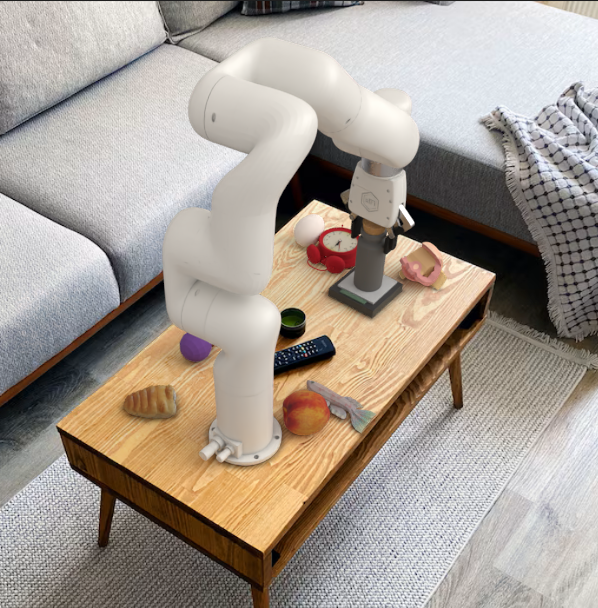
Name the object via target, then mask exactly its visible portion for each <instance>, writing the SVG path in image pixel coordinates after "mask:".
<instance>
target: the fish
mask: <svg viewBox="0 0 598 608" xmlns="http://www.w3.org/2000/svg"><path fill="white" fill-rule="evenodd" d="M305 385H306V388H307V390H308V391H313V392H316V393H318V394H320V395H321V396H322V397H323V398H324V399H325V401H326V402H327V407H328V408H329V410H330V413H331V414H333V415H335V416H336V417H338V418H340V419H341V420H345V419H346V418H347V412H348V413H349V416H350V420H351V424H352V426H353V428H354V429H355V431H357V432H359V433H360V434H362V433H363V430H364V429H365V428H366V427H367V426H368V425H369V423H370V422H371V421H372V419H373V418H374V417H375V416H376V415H377V413H376V412H373V411H371V410H367V409H363V408H364V406H363V405H362V403H361V402H359V401H358V400H357V399H354V398H353V397H351V396H342V395H341V394H339V393H337V392H335V391H334V390H332V389H330V388H329V387H327V386H325V385H324V384H322V383H320V382H317V381H314V380H311V379H308V380H306V384H305Z"/></svg>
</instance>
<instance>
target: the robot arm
mask: <svg viewBox="0 0 598 608" xmlns="http://www.w3.org/2000/svg"><path fill="white" fill-rule="evenodd" d="M412 109H413V101H412V98H411V96H410V94H408V93H407V92H405V91H404V90H402V89H400V88H396V87H395V88H394V87H383V88H378V89H376V90H374V91H372V90H371V89H369V88H367V87H365V86H363V85H361V84H360V83H358V82H357V80H356V79H354V78H353V77H352V76H351V74H349V73H348V72H347V70H346V69H345V68H344V66H342V65H341V64H340V63H339V61H337V59H335V58H334V57H333V56H332V55H330V54H329V53H327V52H325V51H323V50H320V49H317V48H314V47H311V46H307V45H304V44H299V43H296V42H293V41H289V40H286V39H282V38H278V37H274V36H263V37H260V38H259V37H258V38H256V39H254V40H251V41H250V42H248V43H246V44H244V45H243V46H242V47H240V48H238V49H237V50H235V51H234V52H232V53H231V54H230V55H229V56H227V57H226V58H225V59H223V60H222V61H220V62H219V63H217V64H216V65H214V66H213V67H212V68H211V69H209V70H208V71H207V72H206V73H205V74H203V75H202V77H201V78H200V79H199V80H198V81H197V82H196V84H195V86H194V87H193V90H192V91H191V94H190V97H189V100H188V105H187V116H188V121H189V123H190V126H191V128H192V130H193V131H194V132H195V133H196V134H197V135H198V136H199V137H201V138H202V139H203V140H206V141H207V142H211V143H213V144H216V145H219V146H222V147H224V148H228V149H231V150H234V151H236V152H239V153H242V154H246V156H245V157H244V158H243V160H241V161H240V162H239V163H238V164H236V166H234V167H232V169H230V170H229V171H228V172H227V173H226V174H225V175H224V176H223V177H221V178H220V180H219V181H218V182H217V184H216V185H215V187H214V188H213V191H212V195H211V205H210V207H211V209H210V210H209V209H207V208H202V207H197V206H190V207H186V208H183V209H181V210H180V211H178V212H177V213H176V214H175V215H174V216H173V217H172V218H171V220H170V221H169V224H168V226H167V227H166V231H165V233H164V235H163V236H164V237H163V242H162V248H161V259H162V260H161V261H162V274H163V283H164V284H163V285H164V297H165V298H164V300H165V307H166V313H167V317H168V320H170V322H171V323H172V325H173V326H175V327H176V328H178V329H179V330H181V331H183V332H185V333H189V334H191V335H194V336H196V337H198V338H200V339H203V340H205V341H207V342H209V343H210V344H213V345H215V346H214V347H217V348H219V349H221V350H220V351H219V353H218V354H217V355H216V357H215V359H214V360H213V366H212V375H213V377H212V378H213V386H214V387H213V388H214V400H215V413H216V414H215V415H216V417H215V418H214V420H213V421H212V422H211V423H210V424H211V425H210V427H209V430H208V442H209V443H208V444H206V445H205V446H203V448H201V449H200V451H199V452H198V455H199V457H200V458H201V460H203V461H204V462H205V461H208V460H210V458H211V457H213V456H214V455H216V456H215V458H216V459H215V460H217V462H218V463H223V462H226V463H229V464H231V465H235V466H243V467H244V466H245V467H246V466H254V465H258V464H261V463H264V462H266V461H267V460H269V459H270V458H272V457H273V456H274V455H275V454H276V453H277V452H278V450H279V449H280V446H281V444H282V440H283V431H282V426H281V424H280V422H279V421H278V420H277V418H276V417H275V416H274V382H275V381H274V380H275V379H274V378H275V376H274V371H275V370H274V367H275V366H274V365H275V354H276V347H277V342H278V339H279V335H280V331H281V326H282V315H281V312H280V309H279V307H277V305H276V304H275V303H274V302H273V301H272V300H270V299H269V298H268V297H266V296H264V295H263V294H261V293H262V292H263V291H265V290H266V288H267V287H268V285H269V284H270V280H271V278H272V275H273V270H274V269H273V268H274V253H275V234H276V233H275V232H276V217H277V207H278V203H279V200H280V198H281V196H282V194H283V192H284V190H285V189H286V187H287V185H289V183H290V181H291V180H292V178H293V177H294V175H295V174H296V172H297V171H298V169H299V168H300V167H301V165H302V163H303V162H304V160H305V159H306V157H307V156H308V155H309V153H310V151H311V149H312V147H313V145H314V143H315V140H316V137H317V133H318V131H319V132H320V133H322V134H323V135H325V136H326V137H328V138H331V140H332V143H333V144H334V146H335V147H337V148H338V149H339V150H340V151H342V152H345V153H346V154H351V155H353V156H356V157H360V158H361V159H360V160H359V161H357V163H356V166H355V169H354V172H353V175H352V178H351V179H352V180H351V184H350V188H348V189H346V190H344V191H343V192H341V193H340V198H341V200H342V203H343V204H344V207H345V209H346V212H347V213H348V214H349V216H348V218H349V220H350V221H351V222H350V229H351V238H352V239H355V238H356V237H357V236H360V235H361V227H362V225H363V219H364V218H365V219H367V220H369V221H372V222H374V223H376V224H378V225H380V226H383V227H386V229H387V236H386V237H385V243H384V251H383V253H384V254H386V256H387V255H388V254H389V253H391V252H392V251H394V250H395V249H396V248H397V246H398V245H397V244H398V237H399V236H400V235H402V234H403V233H405V232H407V231H408V230H410V229H412V228H414V226H415V221H414V219H413V218H412V216H411V215H410V213H409V212H408V210H407V209H406V201H407V174H406V170H405V169H404V168H405V167H406V166H408V165H409V164H410V163H411V162H412V161H413V160H414V158H415V156H416V154H417V152H418V150H419V146H420V139H421V138H420V130H419V126H418V124H417V123H416V120H414V118H413V117H412ZM400 221H401V222H402V223H403V224H401V223H400Z"/></svg>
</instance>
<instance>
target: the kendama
mask: <svg viewBox="0 0 598 608" xmlns="http://www.w3.org/2000/svg"><path fill="white" fill-rule="evenodd" d="M213 347H216V346H215V345H213V344H210V343H209V342H207V341H205V340H203V339H200V338H198V337H196V336H194V335H191V334H189V333H187V332H185V333H184V334H183V335H182V337H181V339H180V341H179V352H180V354H181V356H182V357H183V358H184V359H186V360H187V361H190V362H193V363H198V362H202V361H204V360H206V359H207V358H208V357H209V356H210V355H211V351H212V350H213V349H212V348H213Z"/></svg>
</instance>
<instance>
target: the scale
mask: <svg viewBox="0 0 598 608" xmlns="http://www.w3.org/2000/svg"><path fill="white" fill-rule="evenodd" d="M354 270H355V266H354V267H351V268H350V270H348V271H347V272H346V273H345V274H343V276H342V277H341V278H340V277H339V279H338V280H337V281H335V282H334V283H333V284H332V285H331V286H329V287H328V290H327V291H328V292H327V296H328V297H330V298H332V299H333V300H336V301H338V302H340V303H341V304H343V305H345V306H347V307H349V308H351V309H353V310H355V311H357V312H359V313H360V314H362V315H365V316H366V317H368V318H370V319H374V318H375V317H376V316H377V315H378V314H379V313H380V312H381V311H382V310H384V308H385V307H387V306H388V305H389V304H390V303H391V302H392V301H394V300H395V298H397V297H398V295H400V294H401V293H402V292H403V287H404V283H402V282H400V281H398V280H396V279H394V278H393V277H390V276H388V275H386V274H384V273H383V280H382V285H381V287H380V288H379V289H378V290H376V291H373V292H365V291H361V290H359V289H358V288H356V287H355V285H354Z"/></svg>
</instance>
